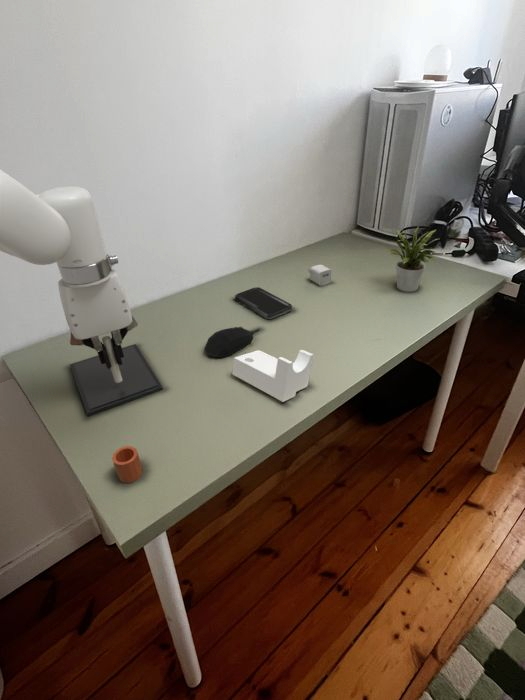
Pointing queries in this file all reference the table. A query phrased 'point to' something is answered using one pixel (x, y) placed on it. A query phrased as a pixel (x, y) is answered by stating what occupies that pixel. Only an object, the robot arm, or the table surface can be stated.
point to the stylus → (112, 359)
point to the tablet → (102, 387)
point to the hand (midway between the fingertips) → (113, 362)
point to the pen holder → (127, 464)
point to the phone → (263, 303)
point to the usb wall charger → (320, 274)
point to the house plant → (412, 261)
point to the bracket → (274, 373)
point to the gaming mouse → (228, 341)
